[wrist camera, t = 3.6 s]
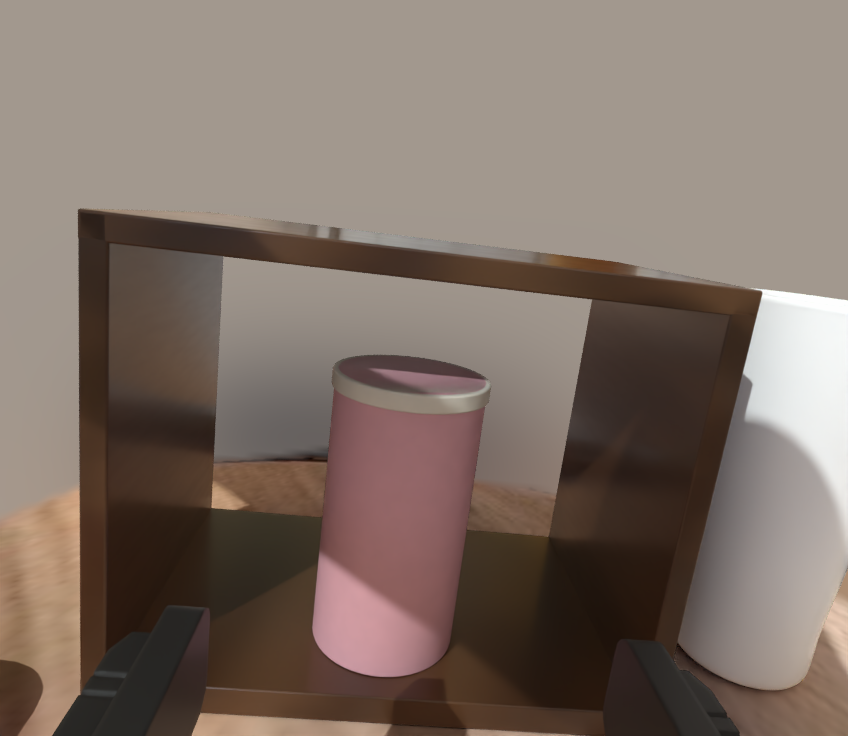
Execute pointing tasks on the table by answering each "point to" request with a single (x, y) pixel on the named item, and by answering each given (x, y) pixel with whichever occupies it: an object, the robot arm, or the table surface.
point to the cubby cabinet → (300, 535)
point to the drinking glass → (777, 501)
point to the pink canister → (395, 510)
